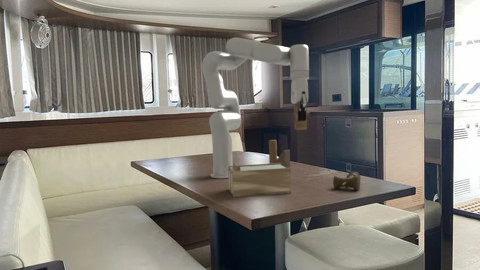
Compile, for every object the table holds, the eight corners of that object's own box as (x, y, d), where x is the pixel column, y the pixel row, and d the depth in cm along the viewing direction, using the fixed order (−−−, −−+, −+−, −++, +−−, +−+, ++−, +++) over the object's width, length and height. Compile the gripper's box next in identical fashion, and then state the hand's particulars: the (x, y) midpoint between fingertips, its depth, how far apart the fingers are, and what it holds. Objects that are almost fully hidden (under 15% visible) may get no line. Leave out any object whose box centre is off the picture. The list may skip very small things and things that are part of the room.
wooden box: (228, 189, 150) (228, 166, 149) (281, 185, 153) (280, 162, 153) (233, 197, 136) (232, 171, 136) (291, 193, 140) (290, 168, 139)
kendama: (366, 184, 152) (355, 193, 135) (343, 183, 157) (330, 192, 140) (366, 170, 152) (355, 177, 135) (342, 169, 157) (329, 176, 140)
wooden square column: (293, 129, 154) (292, 100, 153) (304, 128, 155) (304, 100, 154) (296, 129, 149) (296, 100, 149) (308, 129, 150) (307, 99, 149)
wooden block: (285, 182, 159) (284, 141, 158) (267, 179, 167) (266, 140, 166) (291, 181, 162) (289, 140, 160) (273, 178, 170) (272, 139, 169)
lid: (230, 169, 148) (230, 162, 148) (280, 166, 151) (279, 159, 151) (234, 174, 137) (233, 166, 137) (287, 170, 140) (287, 163, 140)
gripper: (285, 77, 158) (286, 120, 160) (296, 74, 142) (297, 121, 143) (302, 77, 159) (303, 119, 161) (315, 73, 143) (315, 120, 144)
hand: (300, 120), depth 152 cm, fingers closed on wooden square column, 4 cm apart
